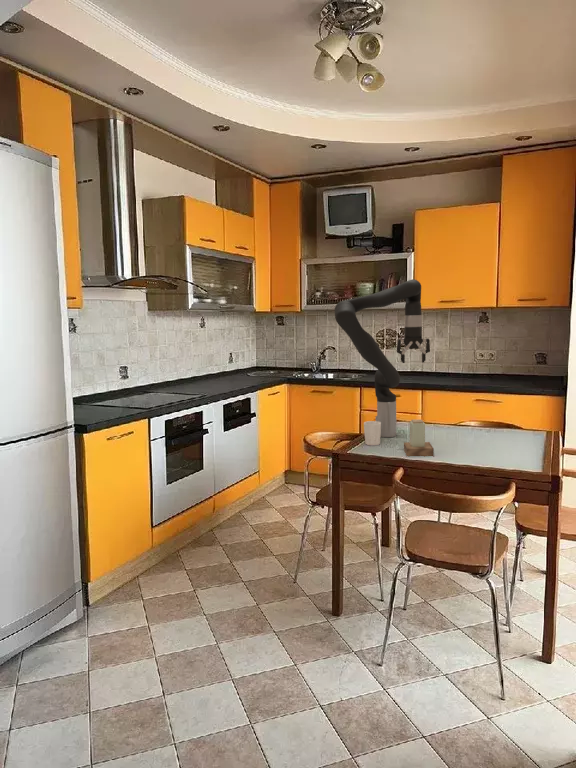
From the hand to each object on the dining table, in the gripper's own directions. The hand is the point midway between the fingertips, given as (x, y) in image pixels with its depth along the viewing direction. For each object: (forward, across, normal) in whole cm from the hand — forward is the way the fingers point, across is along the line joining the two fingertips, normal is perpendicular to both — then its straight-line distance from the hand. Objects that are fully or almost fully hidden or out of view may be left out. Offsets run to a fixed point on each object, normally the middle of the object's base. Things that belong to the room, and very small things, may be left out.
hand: (413, 362), depth 252 cm
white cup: (+38, -17, +8) cm, 43 cm away
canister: (+35, -1, -11) cm, 36 cm away
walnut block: (+39, 0, -11) cm, 40 cm away
